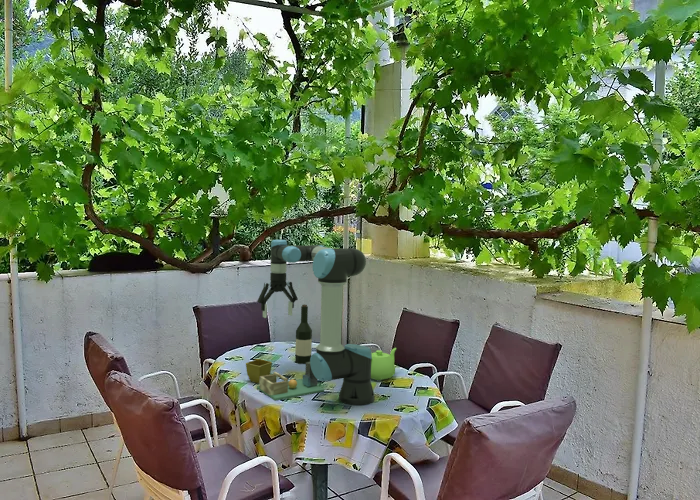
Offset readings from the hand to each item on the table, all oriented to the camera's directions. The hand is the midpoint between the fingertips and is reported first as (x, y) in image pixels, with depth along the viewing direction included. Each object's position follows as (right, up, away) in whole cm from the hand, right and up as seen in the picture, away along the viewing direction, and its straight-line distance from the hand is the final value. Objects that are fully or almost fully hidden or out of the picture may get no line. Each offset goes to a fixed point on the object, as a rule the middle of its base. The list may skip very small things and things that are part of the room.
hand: (277, 316), depth 284 cm
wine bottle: (+10, -27, +24) cm, 37 cm away
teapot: (+49, -30, +2) cm, 57 cm away
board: (+8, -30, -22) cm, 38 cm away
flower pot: (-7, -29, -11) cm, 32 cm away
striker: (+17, -29, -17) cm, 38 cm away
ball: (+9, -27, -22) cm, 37 cm away
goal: (+1, -30, -25) cm, 39 cm away
